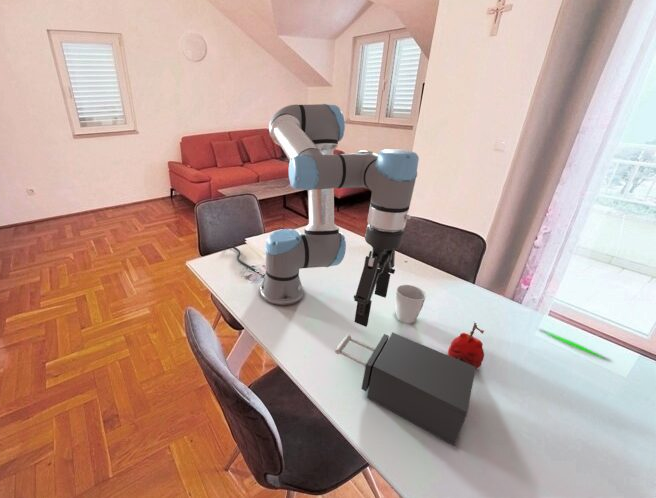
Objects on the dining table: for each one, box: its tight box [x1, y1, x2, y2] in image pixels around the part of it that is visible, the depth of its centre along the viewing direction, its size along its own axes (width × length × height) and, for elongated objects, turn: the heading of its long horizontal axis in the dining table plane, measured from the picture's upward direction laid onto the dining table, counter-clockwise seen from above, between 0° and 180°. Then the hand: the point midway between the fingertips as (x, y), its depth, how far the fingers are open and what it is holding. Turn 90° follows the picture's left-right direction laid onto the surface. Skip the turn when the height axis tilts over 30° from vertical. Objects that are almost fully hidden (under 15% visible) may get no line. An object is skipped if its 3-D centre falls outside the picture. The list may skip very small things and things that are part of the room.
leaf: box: [545, 331, 607, 360], centre depth 89 cm, size 1×14×1 cm, turn 36°
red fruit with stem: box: [447, 322, 485, 371], centre depth 80 cm, size 8×7×15 cm
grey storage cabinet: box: [366, 332, 477, 447], centre depth 71 cm, size 18×14×10 cm
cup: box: [395, 284, 427, 324], centre depth 98 cm, size 8×8×10 cm
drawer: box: [334, 333, 390, 392], centre depth 75 cm, size 25×13×8 cm, turn 51°
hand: (371, 308), depth 74 cm, fingers open, 13 cm apart
